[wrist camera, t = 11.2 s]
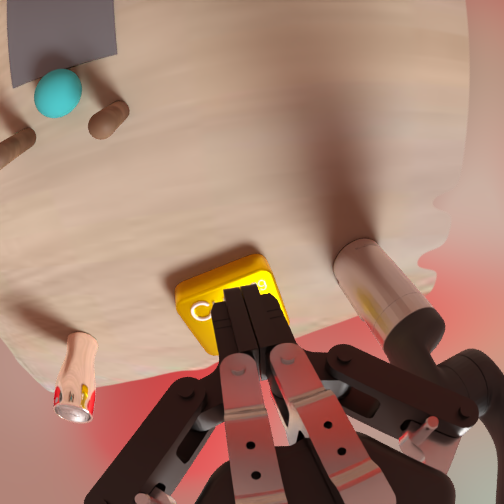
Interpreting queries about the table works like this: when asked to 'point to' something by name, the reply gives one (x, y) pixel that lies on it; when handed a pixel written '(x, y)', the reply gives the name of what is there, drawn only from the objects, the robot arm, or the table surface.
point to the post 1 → (16, 145)
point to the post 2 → (108, 120)
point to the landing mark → (57, 35)
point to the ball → (57, 93)
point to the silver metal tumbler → (77, 380)
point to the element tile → (221, 294)
